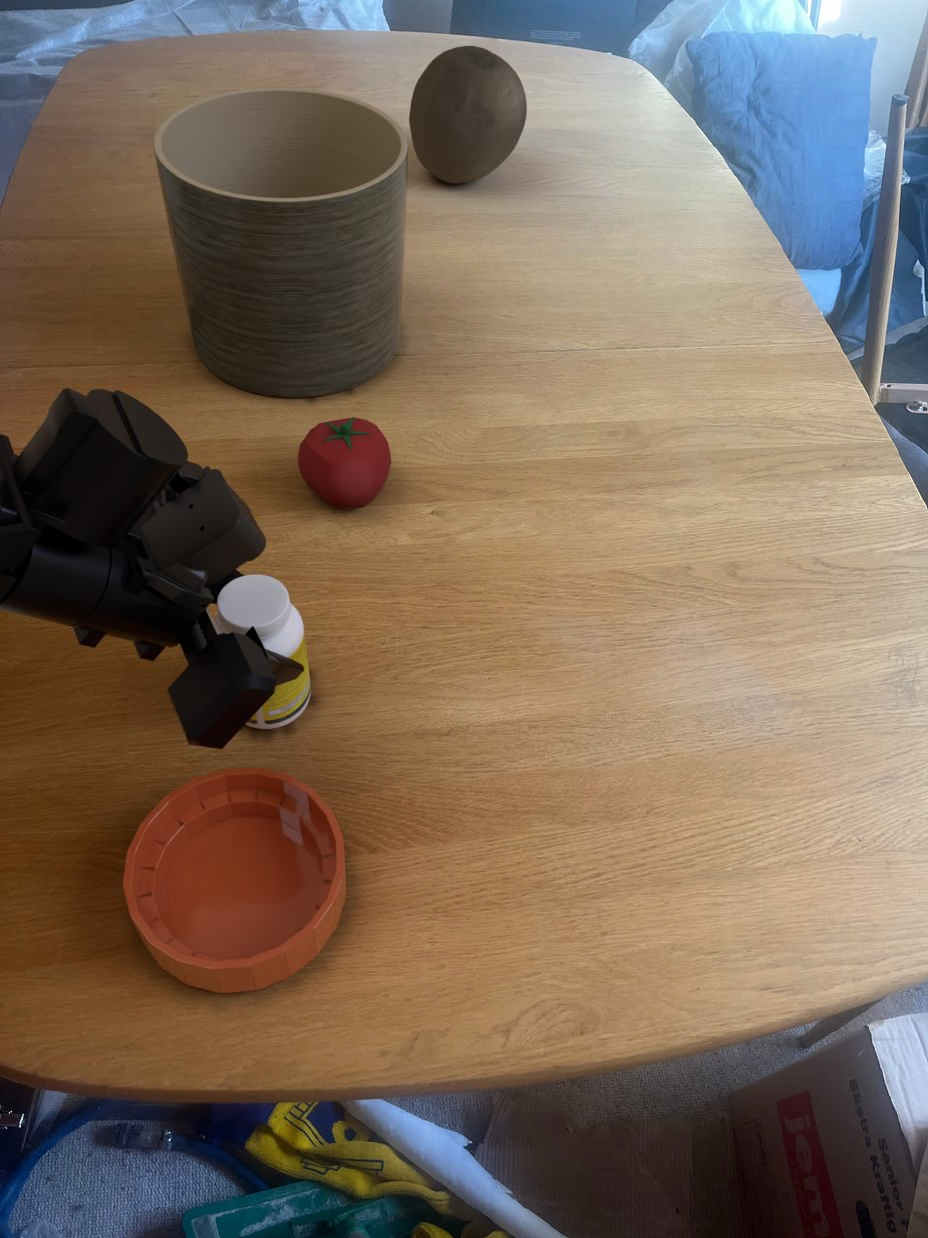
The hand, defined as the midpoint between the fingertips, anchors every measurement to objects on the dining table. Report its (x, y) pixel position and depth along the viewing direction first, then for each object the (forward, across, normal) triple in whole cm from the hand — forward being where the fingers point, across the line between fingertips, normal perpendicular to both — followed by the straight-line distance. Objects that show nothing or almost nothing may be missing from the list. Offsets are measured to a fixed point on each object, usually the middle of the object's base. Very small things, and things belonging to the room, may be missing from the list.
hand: (280, 634), depth 67 cm
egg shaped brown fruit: (+40, +67, -31) cm, 84 cm away
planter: (+17, +42, -8) cm, 46 cm away
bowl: (-1, -14, +11) cm, 17 cm away
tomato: (+14, +18, -4) cm, 23 cm away
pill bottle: (+4, 0, +6) cm, 7 cm away
